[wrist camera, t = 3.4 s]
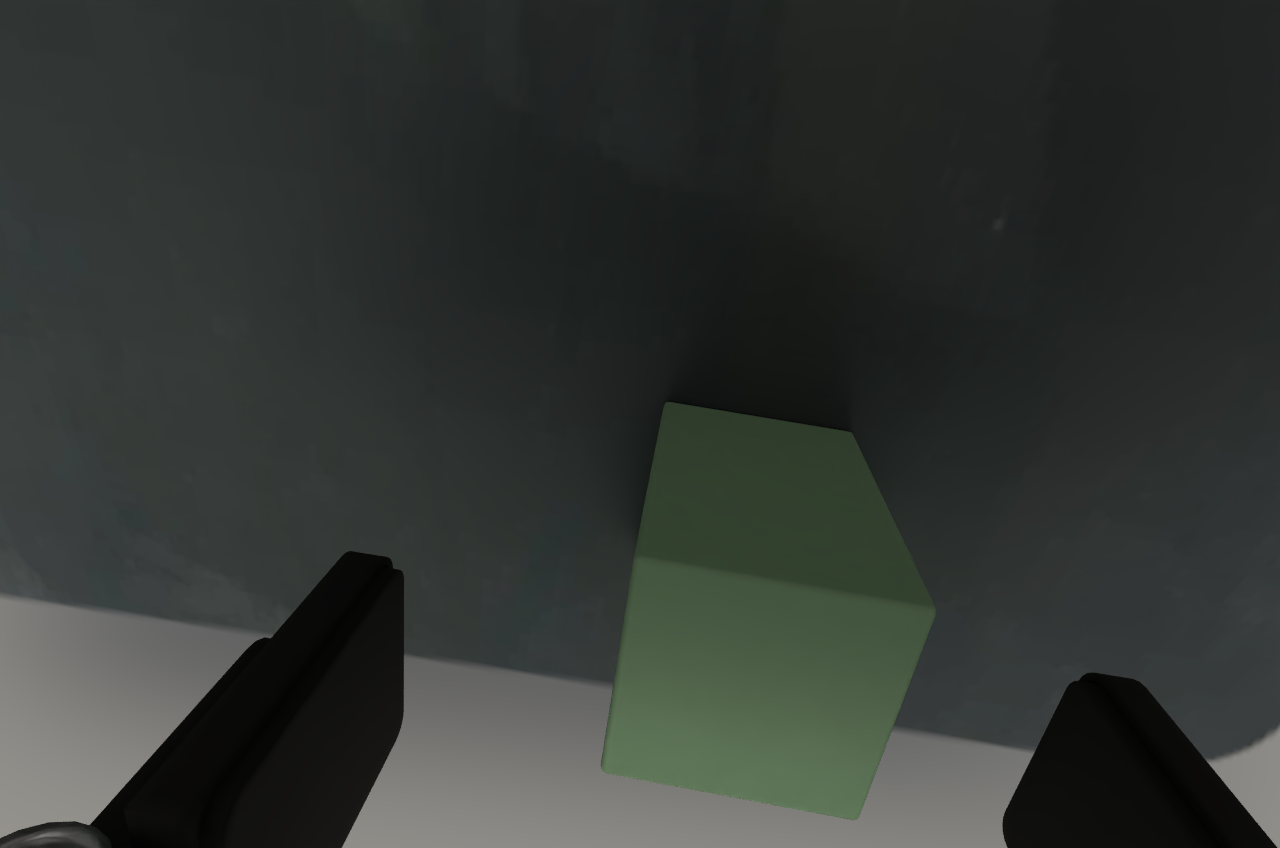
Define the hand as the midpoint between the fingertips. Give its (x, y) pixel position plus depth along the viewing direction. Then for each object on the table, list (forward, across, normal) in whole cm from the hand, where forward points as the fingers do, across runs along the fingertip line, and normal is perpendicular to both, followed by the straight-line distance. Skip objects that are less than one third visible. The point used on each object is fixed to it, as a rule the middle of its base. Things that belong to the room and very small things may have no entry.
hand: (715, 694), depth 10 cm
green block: (+6, -1, 0) cm, 6 cm away
